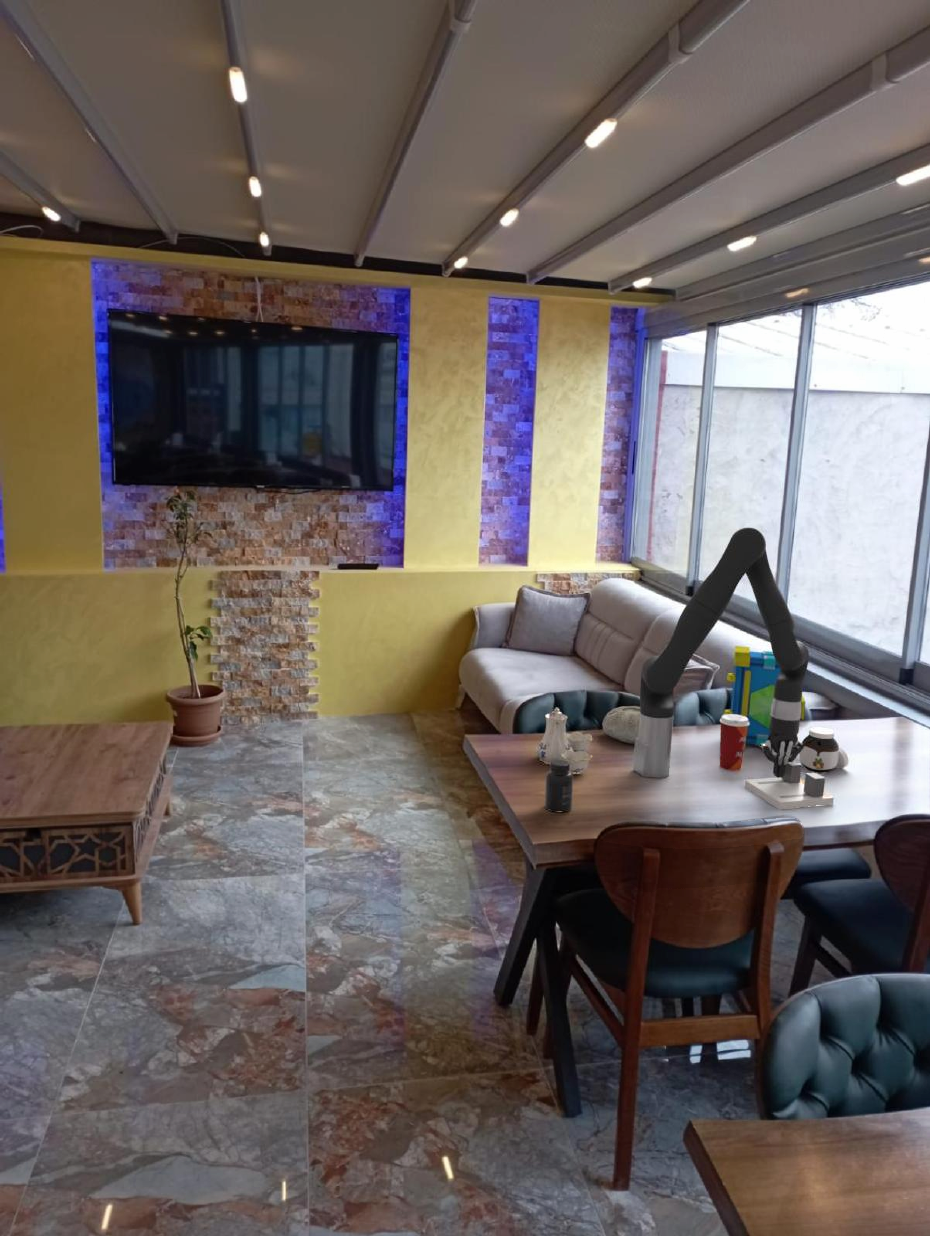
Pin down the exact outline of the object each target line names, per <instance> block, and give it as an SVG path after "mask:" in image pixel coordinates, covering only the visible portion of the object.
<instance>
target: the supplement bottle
mask: <svg viewBox="0 0 930 1236" xmlns="http://www.w3.org/2000/svg"><path fill="white" fill-rule="evenodd" d="M569 766H570V764H569V762H568V761H565V760H553V761H551V762H550V765H549V770H550V771H548V772H547V773H546V775H545V790H544V791H545V792H544V793H545V794H544V796H545V797H544V807H545V809H546V808H547V809H546V810H548V809H550V810H552V811H567V812H569V811H570V809H572V808H573V790H574V788H573V787H574V776H573V774H571V773H570V772H569V770H570V768H569ZM568 810H569V811H568ZM552 811H551V812H552Z"/></svg>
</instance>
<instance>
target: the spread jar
mask: <svg viewBox="0 0 930 1236" xmlns="http://www.w3.org/2000/svg"><path fill="white" fill-rule="evenodd" d="M801 741H802V742H801V743H802V744H804V748H803V749H802V751H801V752H800V753H799V761H800V764H801V765H802V767H803V768H804V769H806V770H807V771H810V772H812V771H813V772H812V773H816V772H817V774H827V773H830V772H832V771H834V770H835V769H837V768H838V769H840V770H841V769H844V768H845V767H848V765H849V757H848V754H847V753H846V751H845V750H844V749H843V748H842V747H841V746H839V743H838V742H837V740H836V738H835V731H834V730H832V729H829V728H825V727H817V726H814V727H810V728H809V729H808V735H807V736H806V737H804V738H803V740H801Z"/></svg>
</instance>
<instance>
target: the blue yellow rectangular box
mask: <svg viewBox="0 0 930 1236" xmlns="http://www.w3.org/2000/svg"><path fill="white" fill-rule="evenodd" d="M733 661H734V667H733V669H734V670H733V672H729V673H727V677H726V681H728V682H729V683H732V692H731V701H730V702H731V703H730V704H731V705H730V708H729V709H724V711H723V715H725V714H736V715H741V716H745V717H747V718H748V722H749V725H748V729H747V735H746V742H745V744H747V745H749V744H750V745H755V746H757V747H758V746H759V745H760V744H761V743H763V744H764V743H765V742H766V741H768V736H769V734H770V730H769V725H770V716H771V707H772V702H773V697H774V688H775V682H776V679H777V678H778V676H779V674H780V669H781V667H780V666H779V665H778V663H777V662H776V660H775V658H774V655H773V652H772V650H771V651H769V650H768V651H767V650H762V652H759V651H750V646H741V645H740V646H738V645H734V655H733ZM805 709H806V699H805V697H804V694H803V693H802V699H801V716H800V720H804V719H805V711H806V710H805ZM759 747H760V746H759Z"/></svg>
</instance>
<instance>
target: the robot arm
mask: <svg viewBox="0 0 930 1236" xmlns="http://www.w3.org/2000/svg"><path fill="white" fill-rule="evenodd" d="M766 541H767V540H766V539H765V535H764V534H763V533H762V532H761V531H760V530H759V529H757V528H755V527H751V526H748V527H742V528H739V529H737V530H736V531H735V532H734V533H733V534H732V536H731V537H730V539H729V541H728V544H727V546H726V547H725V550H724V552H723V553H722V556H721V557H720V559H719V560H718V563H717V564H716V565H715V567H714V569H713V570H712V571H711V572H710V574H709V575H708V576H707V577H706V578H705V579H704V580H703V582H702V583H701V584H700V586H699V587H698V589H697V590H696V591H695V592H694V594H693V595H692V596H691V598H690V600H689V601H688V602H687V604H686V605H685V607H684V609H683V610H682V612H681V614H680V616H679V618H678V620H677V623H676V626H675V628H674V631H673V634H672V635H671V638H670V640H669V642H668V643H667V645H666V647H665V648H664V649H663V650H662V651H661V653H660V654H659V655H653V656H651V657H649V658H647V659H646V660H645V662H644V663H643V664H642V667H641V671H640V672H641V675H640V691H639V693H640V694H639V705H640V706H639V707H640V721H639V734H638V738H635V744H634V752H633V753H634V754H633V765H632V769H633V771H635V772H636V773H637V774H638V775H640V776H641V777H647V778H654V779H655V778H656V779H657V778H666V777H668V776H670V767H671V757H672V756H671V753H672V743H673V741H672V740H673V728H674V717H675V716H674V714H675V704H674V690H675V687H676V686H677V685H678V683H679V681H680V679H681V677H682V676H683V673H684V672H685V670H686V667H687V666H688V664H689V662H690V661H691V658H692V657H693V656H694V655H695V653H696V651H698V649H699V647H701V645H702V644H703V642H704V641H705V639H706V638H707V637H708V635H709V634H710V632H711V631H712V629H714V627H715V625H716V624H717V623H718V621H719V620H720V618H721V617H722V616H723V614H724V612H725V610H726V609H727V607H728V605H729V603H730V601H731V599H732V597H733V595H734V592H735V591H736V588H737V587H738V586H739V585H738V584H739V583H740V582H741V580H742V579H743V577H744V576H747V579H748V581H749V584H750V586H751V589H752V592H753V595H754V598H755V602H756V605H757V608H758V610H759V613H760V617H761V619H762V621H763V623H764V626H765V628H766V631H767V633H768V636H769V641H770V642H769V643H770V645H771V652H773V655H774V658H775V660H776V662H777V663H778V665H779V666H780V667H781V669H780V674H779V676H778V678H777V679H776V682H775V688H774V697H773V702H772V707H771V716H770V725H769V730H770V734H769V736H768V741H766V742H765V743H764V744H763V743H761V744H760V745H759V748H760V750H761V751H762V752H763V754H764V756H765V758H766V759H767V760H768V761H770V762H771V763H773V767H772V768H773V769H772V774H773V776H774V777H775V778H782V777H783V775H784V774H785V769H786V764H787V763H788V762H793V761H795V760H796V758H798V756H799V755H800V752H801V751H802V749H803V748H804V744H802V742H800V741H799V737H798V735H799V732H800V724H801V718H800V716H801V699H802V694H803V687H804V686H803V685H804V680H805V677H806V673H807V670H808V666H809V660H810V659H809V658H810V653H809V652H810V651H809V649H808V647H807V645H806V644H805V643H803V641H802V642H801V641H799V640H797V639H796V636H795V632H794V629H795V621H794V620H793V617H792V614H791V612H790V610H789V606H788V604H787V603H786V599H785V598H784V596H783V594H782V592H781V589H780V587H779V586H778V583H777V582H776V579H775V577H774V575H773V572H772V569H771V565H770V563H769V559H768V558H769V557H768V554H767V550H766V549H767V542H766Z"/></svg>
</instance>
